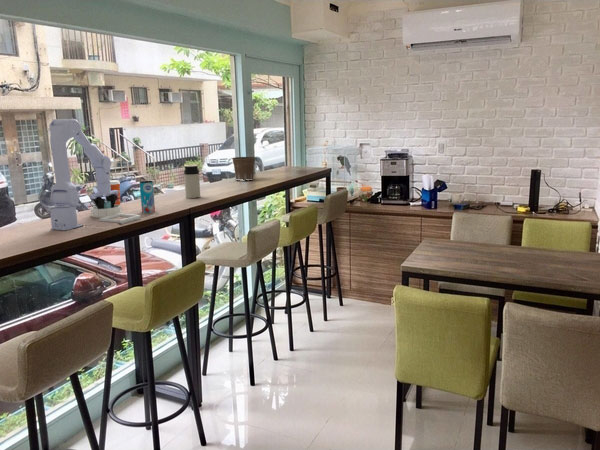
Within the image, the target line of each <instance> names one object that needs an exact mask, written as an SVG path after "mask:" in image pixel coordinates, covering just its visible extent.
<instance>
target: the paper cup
mask: <svg viewBox="0 0 600 450" xmlns="http://www.w3.org/2000/svg"><path fill="white" fill-rule="evenodd" d="M110 185H111V191H112V190H118V194H117V199H116V201H115V204H116V205H121V186H120V185H121V182H120V180H116V179H113V180H111V179H110Z"/></svg>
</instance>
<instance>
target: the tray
mask: <svg viewBox="0 0 600 450" xmlns="http://www.w3.org/2000/svg"><path fill="white" fill-rule="evenodd" d="M120 217H123V219H116V218H120ZM124 217H125V218H124ZM140 220H142V215H141V214H130V213H129V214H128V213H122V214H116V215H112V216H108V217H102V218H99V221H100V222H105V223H106V222H107V223H108V222H109V223H116V224H118V225H125V224H128V223H129V224H130V223H131V222H136V221H140Z"/></svg>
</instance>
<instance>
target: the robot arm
mask: <svg viewBox="0 0 600 450" xmlns="http://www.w3.org/2000/svg"><path fill="white" fill-rule="evenodd" d="M48 127H49V135H50V136H49V141H50V142H49V143H50V147H51V156H52V163H53V171H54V178H55V183H54V185H52V186H51V187H50V201H51V203H52V204H53V205H54V207H55V208H53V209H51V210H50V215H49V216H50V223H51V227H50V230H57V231H68V230H72V229H75V228H79V227H83V224H78V223H79V222H78V214H77V208H76V207H77V206H78V203H79V202H80V194H79V192H78V189H77V186H76V185H75V184H74V183H73V182H72V181H71V175H70V174H71V173H70V165H69V158H68V150H67V142H68V141H69V140H70V139H72V138H73V139H74V140H75V141H76V142H77V144H79V145H80V146H81V147H82V148H83V153H84V154H85V155H86V156H87V157H88V159H89V161H90V162H91V166H92V167H93V168H94V169H95V178H96V188H97V191H96V192H95V193H92V194H90V199H91V200H92V202H93V203H94V204H95V206H97V208H98V209H104V201H111V208H114V205H115V201H116V199H117V194H118V190H112V191H111V185H110V180H111V177H110V172H111V167H112V160H111V158H110V157H108V156H107V155H105V154H104V153H103V152H102V151H101V150H100V149H99V148H98V145H97V144H96V143H91V142H90V140H89V139H88V138H87V136H86V135H85V133H84V132H83V130H82V125H81V124H80V122H79V121H78V120H77V119H76V118H63V119H61V118H60V119H58V118H55V119H53V120H52V121H51V122H50V123H49V126H48Z"/></svg>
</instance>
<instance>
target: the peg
mask: <svg viewBox="0 0 600 450" xmlns="http://www.w3.org/2000/svg"><path fill="white" fill-rule="evenodd" d="M108 208H111V201H107V200H105V201H104V209H108Z"/></svg>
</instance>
